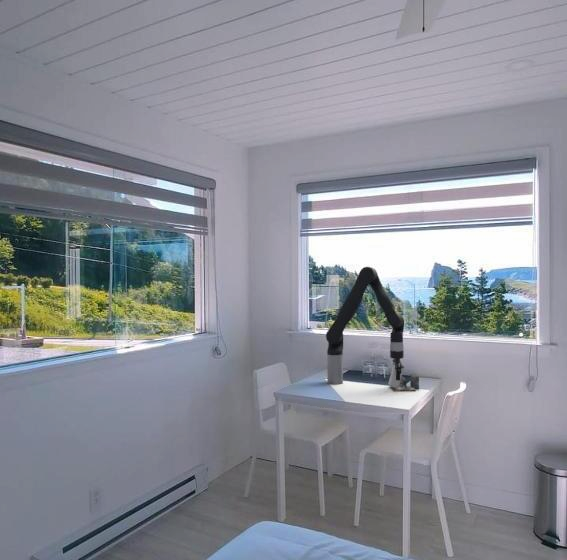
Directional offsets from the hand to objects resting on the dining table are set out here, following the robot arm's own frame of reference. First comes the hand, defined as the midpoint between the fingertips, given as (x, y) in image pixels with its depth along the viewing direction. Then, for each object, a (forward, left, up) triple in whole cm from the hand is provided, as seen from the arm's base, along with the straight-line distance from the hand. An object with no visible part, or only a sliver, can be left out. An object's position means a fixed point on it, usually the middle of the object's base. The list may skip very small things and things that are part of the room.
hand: (397, 378), depth 279 cm
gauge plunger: (+4, -2, -4) cm, 6 cm away
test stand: (+4, -2, -5) cm, 7 cm away
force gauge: (-2, 0, -4) cm, 5 cm away
